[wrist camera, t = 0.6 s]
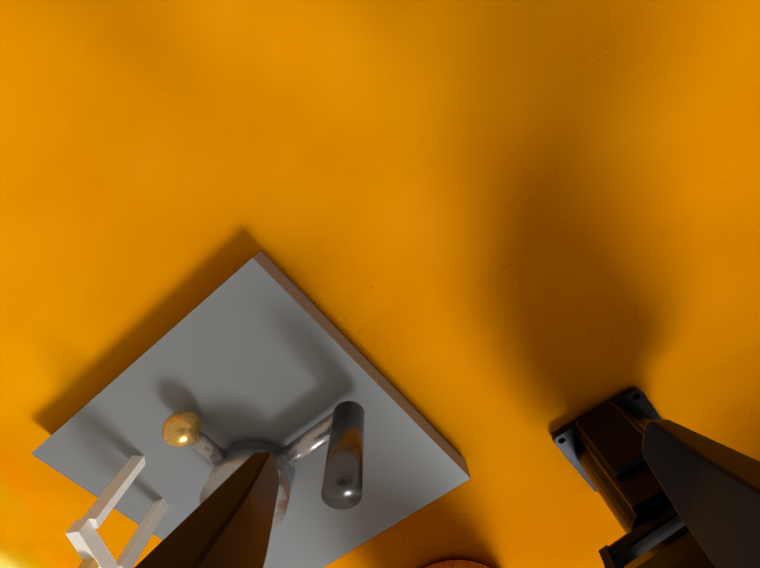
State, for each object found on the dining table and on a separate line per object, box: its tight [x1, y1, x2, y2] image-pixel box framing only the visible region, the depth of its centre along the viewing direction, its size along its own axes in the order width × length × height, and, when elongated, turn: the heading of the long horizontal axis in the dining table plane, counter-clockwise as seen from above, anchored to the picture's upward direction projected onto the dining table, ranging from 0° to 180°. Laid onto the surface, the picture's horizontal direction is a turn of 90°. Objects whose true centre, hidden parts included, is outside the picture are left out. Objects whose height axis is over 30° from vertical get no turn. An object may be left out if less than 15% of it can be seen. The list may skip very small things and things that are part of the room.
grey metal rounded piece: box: [162, 401, 365, 529], centre depth 19 cm, size 9×11×6 cm
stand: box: [31, 251, 471, 568], centre depth 21 cm, size 20×20×7 cm
